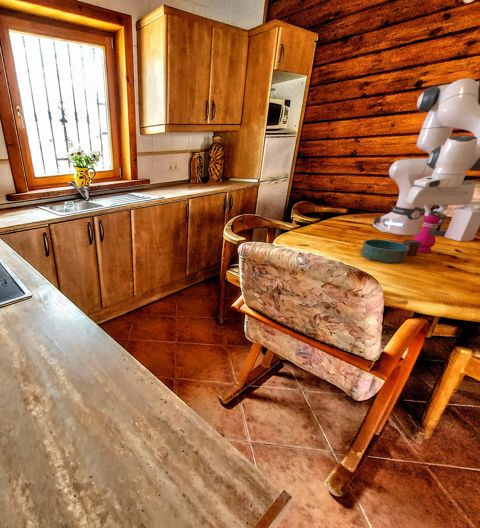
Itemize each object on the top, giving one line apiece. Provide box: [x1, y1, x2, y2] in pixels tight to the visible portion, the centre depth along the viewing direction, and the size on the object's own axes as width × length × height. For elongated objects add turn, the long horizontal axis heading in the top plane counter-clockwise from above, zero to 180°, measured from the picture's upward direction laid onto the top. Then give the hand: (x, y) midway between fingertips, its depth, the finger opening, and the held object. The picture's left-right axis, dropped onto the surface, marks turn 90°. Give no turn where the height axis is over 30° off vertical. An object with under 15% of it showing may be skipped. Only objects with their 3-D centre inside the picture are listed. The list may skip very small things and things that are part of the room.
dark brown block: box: [402, 238, 421, 257], centre depth 126 cm, size 4×4×6 cm
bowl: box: [360, 239, 409, 264], centre depth 124 cm, size 15×15×6 cm
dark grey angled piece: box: [414, 207, 447, 237], centre depth 116 cm, size 17×5×8 cm, turn 170°
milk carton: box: [443, 201, 480, 242], centre depth 138 cm, size 7×7×19 cm
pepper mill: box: [413, 208, 441, 254], centre depth 126 cm, size 7×7×20 cm
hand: (432, 215), depth 114 cm, fingers closed on dark grey angled piece
